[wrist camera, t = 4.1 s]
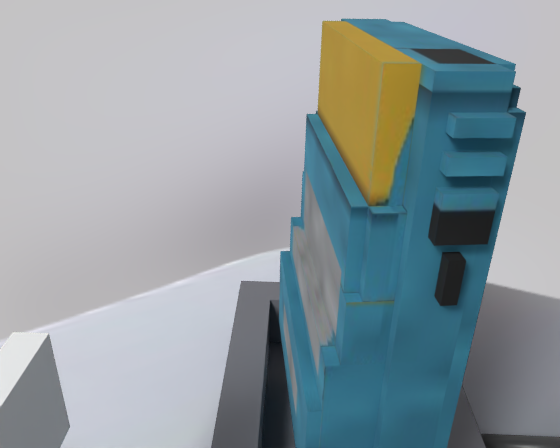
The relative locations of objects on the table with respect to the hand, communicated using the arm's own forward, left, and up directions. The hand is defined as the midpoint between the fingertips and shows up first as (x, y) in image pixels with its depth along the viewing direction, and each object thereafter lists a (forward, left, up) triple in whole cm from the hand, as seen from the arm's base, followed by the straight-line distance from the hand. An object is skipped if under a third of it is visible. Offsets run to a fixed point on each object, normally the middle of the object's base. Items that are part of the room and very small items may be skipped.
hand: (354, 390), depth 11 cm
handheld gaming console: (-1, -6, -9) cm, 10 cm away
